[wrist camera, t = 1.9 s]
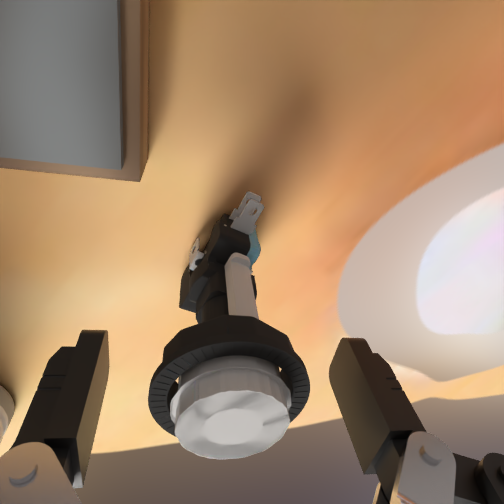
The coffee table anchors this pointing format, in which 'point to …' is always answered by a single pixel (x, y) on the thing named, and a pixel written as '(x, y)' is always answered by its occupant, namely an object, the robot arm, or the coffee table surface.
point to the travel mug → (5, 410)
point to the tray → (74, 87)
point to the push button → (227, 353)
